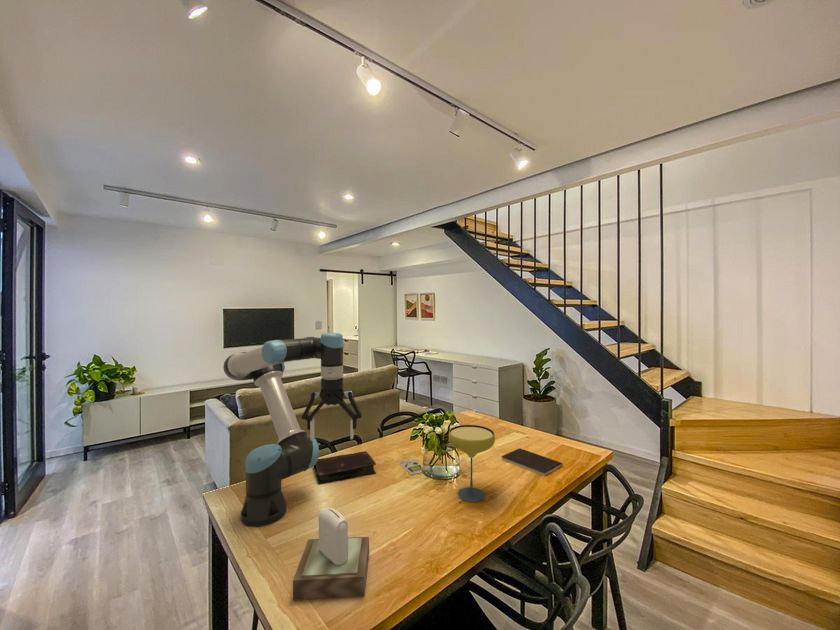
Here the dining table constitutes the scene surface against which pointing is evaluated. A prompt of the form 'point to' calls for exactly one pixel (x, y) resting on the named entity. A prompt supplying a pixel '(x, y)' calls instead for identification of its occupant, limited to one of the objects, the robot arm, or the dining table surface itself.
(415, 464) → the handheld gaming device
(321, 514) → the photo printer
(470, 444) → the cocktail glass
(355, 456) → the diary
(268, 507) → the robot arm
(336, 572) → the block
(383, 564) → the dining table surface
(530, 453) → the hardcover book
